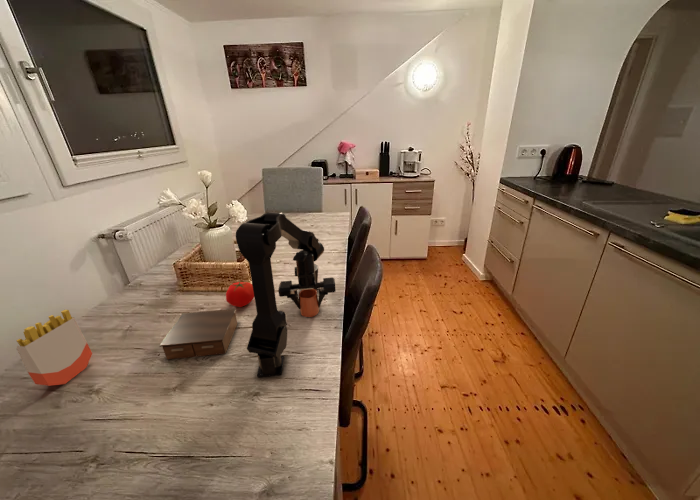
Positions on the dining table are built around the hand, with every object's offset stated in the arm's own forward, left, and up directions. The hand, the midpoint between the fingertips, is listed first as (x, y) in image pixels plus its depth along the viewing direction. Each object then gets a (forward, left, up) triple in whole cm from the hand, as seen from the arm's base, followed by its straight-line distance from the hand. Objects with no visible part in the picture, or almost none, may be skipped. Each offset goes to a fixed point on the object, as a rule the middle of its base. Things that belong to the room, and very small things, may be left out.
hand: (309, 307), depth 98 cm
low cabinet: (-10, +32, -2) cm, 34 cm away
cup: (0, 0, -2) cm, 2 cm away
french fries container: (-19, +64, -2) cm, 67 cm away
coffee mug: (+16, 0, -2) cm, 16 cm away
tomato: (+9, +25, -2) cm, 27 cm away
